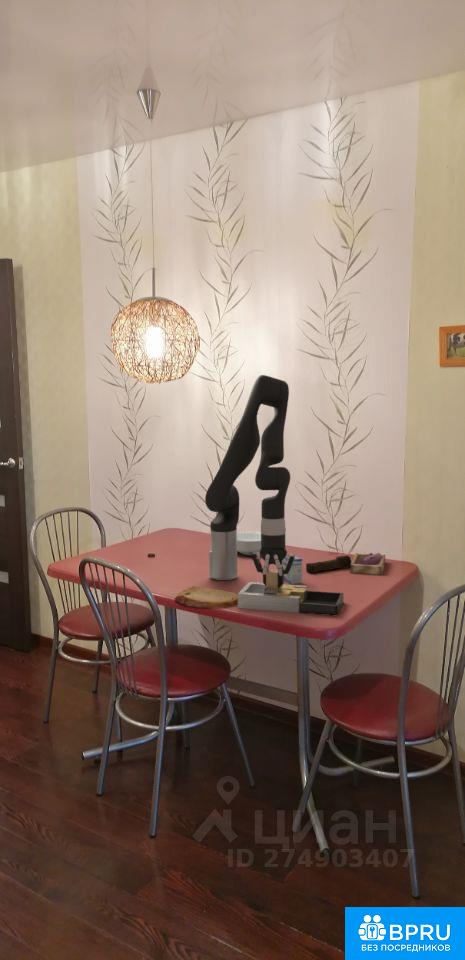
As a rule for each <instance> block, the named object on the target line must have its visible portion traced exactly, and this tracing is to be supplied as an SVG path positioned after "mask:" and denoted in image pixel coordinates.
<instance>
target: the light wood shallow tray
mask: <svg viewBox="0 0 465 960" xmlns="http://www.w3.org/2000/svg"><path fill="white" fill-rule="evenodd" d="M369 554H370V553H355V555H354V556H353V558H352V559H351V561H352V562H351V565H350V567H349V568H350V569H349V570H350V574H363V575H365V574H366V575H379V576H380V575H383V571H384V569H385V565H386V554H381V555H382V556H378V557H383V558H381V561H380V562H379V563H378V565H379V566H376V565H362V564H360V565H359V561H358V560H361V559H365V558H366V557H367V556H368V555H369ZM374 554H375V553H372V555H374ZM374 558H377V557H372V558H371V559H374ZM356 563H358V564H356Z"/></svg>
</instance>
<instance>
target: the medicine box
mask: <svg viewBox="0 0 465 960" xmlns="http://www.w3.org/2000/svg"><path fill="white" fill-rule="evenodd" d="M289 554H290V555H293V553H289ZM282 562H283V568H284V569H286V566H287V564H288V561H287V557H285V558H284V559H283V561H282ZM284 582H286V583H289V585H298V584H302V583H303V559H302V558H301V557H299V556H297V555H295V559H294V561H293V564H292V567H291V569H290V571H289V572H288V574H284Z"/></svg>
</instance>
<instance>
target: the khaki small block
mask: <svg viewBox="0 0 465 960" xmlns="http://www.w3.org/2000/svg"><path fill="white" fill-rule="evenodd" d="M295 585H296V584H287V585H282V586H281V588H280V589H286V590H292V589H293V588H295Z"/></svg>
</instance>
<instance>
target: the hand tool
mask: <svg viewBox="0 0 465 960" xmlns="http://www.w3.org/2000/svg"><path fill="white" fill-rule="evenodd" d="M351 562H352V559H351V556H350V555H340V556H337V557H336V558H334V559H331V560H330V559H329V560H324V561H317V562H311V563H310V562H309V563H308V562H307V563H306V565H305V571H306V573H307V574H316V573H318V572H322V571H323V572H324V571H329V570H333V569H334V570H335V569H339V570H344V569H346V568H350V565H351Z"/></svg>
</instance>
